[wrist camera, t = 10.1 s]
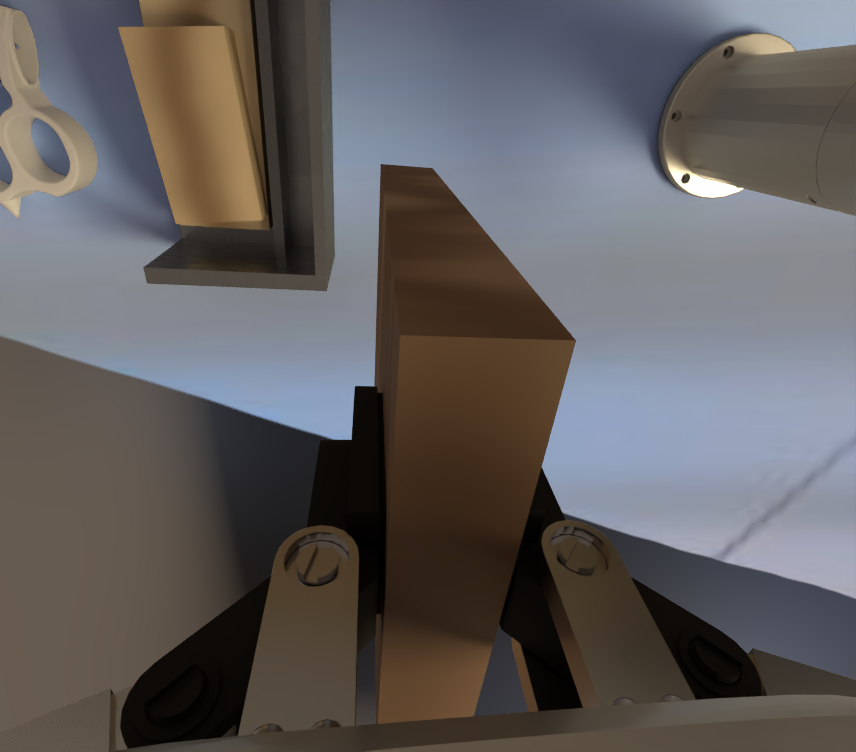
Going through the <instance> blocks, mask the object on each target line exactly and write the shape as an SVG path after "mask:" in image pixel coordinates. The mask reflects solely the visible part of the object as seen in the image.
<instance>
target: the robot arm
mask: <svg viewBox="0 0 856 752" xmlns="http://www.w3.org/2000/svg"><path fill="white" fill-rule="evenodd" d="M723 53H724V54H723ZM672 114H673V117H672ZM658 151H659V156H660V162H661V165H662V167H663V170H664V172H665V174H666V176H667V177H668V178H669V180H670V181H671V183H672V184H674V185H675V186H676V187H677V188H678V189H679V190H681V191H683V192H685V193H687V194H690V195H693V196H697V197H700V198H719V197H725V196H728V195H731V194H734V193H737V192H739V191H741V190H743V189H748V190H752V191H756V192H760V193H764V194H769V195H773V196H777V197H781V198H785V199H789V200H793V201H797V202H801V203H805V204H809V205H814V206H818V207H822V208H826V209H830V210H834V211H838V212H842V213H846V214H850V215H854V216H856V45H848V46H839V47H830V48H821V49H812V50H802V51H796V49H795V48H794V47H793V46H792V45H791V44H790V43H789V42H787V41H786V40H784V39H783V38H781V37H780V36H776V35H772V34H769V33H750V34H744V35H739V36H736V37H733V38H730V39H727V40H724V41H723V42H721V43H719V44H717V45H716V46H714V47H712V48H710V49H709V50H708V51H707V52H705V53H704V54H703V55H702V56H700V57H699V58H698V59H697V60H696V61H695V62H694V63H693V64H692V65H691V66H690V67H689V68H688V70H687V71H686V72H685V73H684V74H683V76H682V77H681V79H680V80H679V82H678V83H677V84H676V86H675V87H674V89H673V91H672V93H671V95H670V97H669V99H668V101H667V103H666V106H665V109H664V112H663V115H662V118H661V123H660V128H659V134H658ZM681 178H682V179H681ZM385 531H386V481H385V450H384V419H383V393H378V387H371V386H355V395H354V411H353V427H352V440H321V441H320V446H319V452H318V459H317V465H316V472H315V478H314V484H313V491H312V497H311V504H310V510H309V517H308V524H307V528H305V529H303V530H300V531H297V532H296V533H295V534H293V535H292V536H291V537H289V538H287V540H286V541H285V542H284V543H283V544H282V546H281V547H280V548H279V550H278V552H277V555H276V558H275V561H274V565H273V570H272V575H271V576H270V577H269V578H268V579H266V580H265V581H264V582H262V583H261V584H260V585H258V586H257V587H256V588H254V589H253V590H252V591H250V592H249V593H248V594H246V595H245V596H244V597H242V598H241V599H240V600H238V601H237V602H236V603H234V604H233V605H232V606H230V607H229V608H228V609H226V610H225V611H224V612H222V613H221V614H220V615H219V616H217V617H215V618H214V619H213V620H211V621H210V622H209V623H208V624H206V625H205V626H203V627H202V628H201V629H200V630H198V631H197V632H196V633H194V634H193V635H191V636H190V637H189V638H187V639H186V640H185V641H183V642H182V643H181V644H180V645H178V646H177V647H175V648H174V649H173V650H172V651H170V652H169V653H168V654H166V655H165V656H164V657H162V658H161V659H159V660H158V661H157V662H156V663H154V664H153V665H152V666H151V667H150V668H149V669H148V670H147V671H146V672H144V673H143V674H142V675H141V676H140V678H139V679H138V680H137V682H136V683H135V685H133V686H131V687H128V688H126V689H123V690H121V691H118V692H116V693H113V691H112V689H111V688H109V689H106V690H104V691H101V692H99V693H97V694H94V695H92V696H89V697H87V698H84V699H82V700H80V701H77V702H74V703H72V704H69V705H67V706H65V707H62V708H60V709H57V710H55V711H52V712H50V713H47V714H45V715H43V716H40V717H38V718H35V719H33V720H30V721H28V722H25V723H23V724H20V725H18V726H15V727H13V728H10V729H8V730H5V731H3V732H1V733H0V752H856V680H854V679H851V678H847V677H844V676H841V675H838V674H834V673H831V672H828V671H825V670H821V669H818V668H815V667H812V666H809V665H805V664H802V663H799V662H796V661H792V660H789V659H786V658H783V657H779V656H776V655H773V654H770V653H766V652H763V651H760V650H757V649H754V648H752V650H751V651H750V652H749V653H746V652H745V651H744V650H743V649H742V648H740V646H739V645H738V644H737V643H736V642H735V641H734V640H732V639H731V638H730V637H728V636H727V635H725V634H724V633H723V632H721V631H720V630H718V629H717V628H715V627H713V626H712V625H710V624H708V623H707V622H705V621H703V620H701V619H700V618H698V617H697V616H695V615H693V614H691V613H690V612H688V611H687V610H685V609H683V608H682V607H680V606H678V605H677V604H675V603H673V602H672V601H670V600H668V599H667V598H665V597H663V596H662V595H660V594H658V593H657V592H655V591H653V590H652V589H650V588H648V587H647V586H645V585H643V584H642V583H640V582H638V581H637V580H635V579H633V578H632V577H630V575H629V573H628V571H627V569H626V567H625V565H624V563H623V562H622V560H621V558H620V556H619V554H618V552H617V550H616V549H615V547H614V546H613V545H612V543H611V542H610V540H609V539H608V538H607V537H606V536H604V535H603V534H602V533H601V532H600V531H598V530H596V529H595V528H593V527H591V526H589V525H587V524H584V523H581V522H578V521H569V520H565V518H564V516H563V513H562V511H561V509H560V507H559V505H558V502H557V500H556V498H555V496H554V494H553V491H552V489H551V487H550V485H549V482H548V480H547V478H546V476H545V474H544V471H543V469H542V467H541V470H540V474H539V478H538V481H537V485H536V489H535V492H534V496H533V500H532V503H531V507H530V511H529V514H528V518H527V522H526V526H525V529H524V533H523V537H522V540H521V544H520V548H519V551H518V555H517V559H516V562H515V566H514V570H513V573H512V577H511V581H510V584H509V588H508V592H507V595H506V599H505V603H504V606H503V610H502V614H501V617H500V621H499V625H500V626H501V629H502V630H503V631H504V632H506V633H507V634H509V635H510V636H511V637H512V648H513V652H514V656H515V660H516V664H517V668H518V672H519V676H520V680H521V684H522V688H523V692H524V696H525V700H526V704H527V708H528V712H523V713H511V714H497V715H484V716H471V717H458V718H445V719H432V720H419V721H407V722H395V723H382V724H370V725H358V726H356V703H357V664H358V663H357V662H358V653H359V652H360V651H361V650H362V649H363V648H364V647H365V646H366V645H367V644H368V643H369V642H370V641H371V640H372V639H373V638H374V637H375V636H376V615H377V614H381V607H382V588H383V569H384V550H385Z"/></svg>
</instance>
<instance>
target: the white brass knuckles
mask: <svg viewBox="0 0 856 752" xmlns="http://www.w3.org/2000/svg"><path fill="white" fill-rule="evenodd" d="M14 43H16V44H17V45H18V46H19V48H17V49H15V45H14ZM38 74H39V62H38V56H37V50H36V44H35V39H34V35H33V32H32V29H31V27H30V24H29V22H28V20H27V18H26V16H25V15H24V13H23V12H21V11H19V10H16V9H12V8H7V7H3V6H0V79H1V82H2V85H3V86H4V87H5V89H6V90H7V91H8V92H9V94H10V95H11V98H12V106H11V107H10V108H9V109H7V110H5V111H4V112H3V113H2V114H1V116H0V147H1V148H2V150H3V152H4V154H5V156H6V158H7V160H8V162H9V164H10V166H11V169H12V175H13V177H12V182H11V184H7V183H5V182H3V181H1V180H0V203H1V204H2V205H3V206H4V207H5V208H7V209H8V210H9V211H10V212H11V213H12V214H14V215H15V216H16V217H17V218H18V219H19V212H20V203H21V197H24V196H27V195H31V194H32V193H33V192H34V191H41V192H45V193H48V194H51V195H53V196H55V197H59V196H62V195H65V194H69V193H72V192H75V191H78V190H81V189H83V188H85V187H86V186H88V185H89V184H90V183H91V182H92V181H93V179H94V177H95V175H96V172H97V167H98V159H97V153H96V150H95V147H94V144H93V142H92V140H91V138H90V137H89V135H88V134H87V132H86V131H85V130H84V128H83V127H82V126H81V125H80V124H79V123H78V122H77V121H76V120H75V119H74V118H73V117H71V116H70V115H68V114H67V113H65V112H64V111H62V110H60V109H58V108H56V107H54V106H53V105H52V104H51V103H50V101H49V100H48V99H47V97H46V96H45V95H44V93H43V92H42V91H41V89H40V86H39V80H38ZM36 118H38V119H40V120H42V121H44V122H46V123H47V124H48V125H50V126H51V127H52V128H53V129H54V130H55V131H56V133H57V134H58V135H59V137H60V139H61V141H62V143H63V145H64V147H65V149H66V152H67V154H68V157H69V161H70V169H69V172H68V174H67V176H63V175H61V174H58V173H56V172H55V171H53V170H52V169H50V168H49V167H48V166H47V165H46V164H45V163H44V162H43V160H42V159H41V157H40V156H39V154H38V152H37V150H36V147H35V145H34V143H33V141H32V137H31V126H32V124H33V122H34V120H35V119H36Z"/></svg>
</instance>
